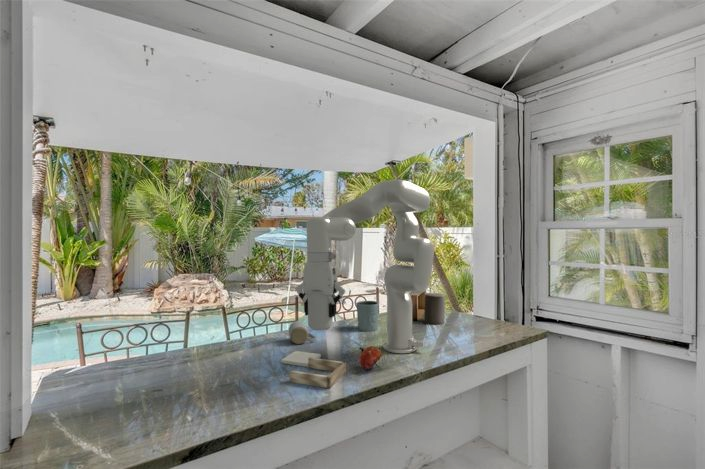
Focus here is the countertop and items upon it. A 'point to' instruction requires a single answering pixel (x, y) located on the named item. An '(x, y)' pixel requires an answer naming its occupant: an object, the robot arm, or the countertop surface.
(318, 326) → the can
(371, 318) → the teal cup
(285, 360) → the tile
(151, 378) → the countertop surface
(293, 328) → the ceramic mug
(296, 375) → the open wooden frame
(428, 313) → the pillar candle
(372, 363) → the red tomato
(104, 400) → the countertop surface
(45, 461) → the countertop surface
